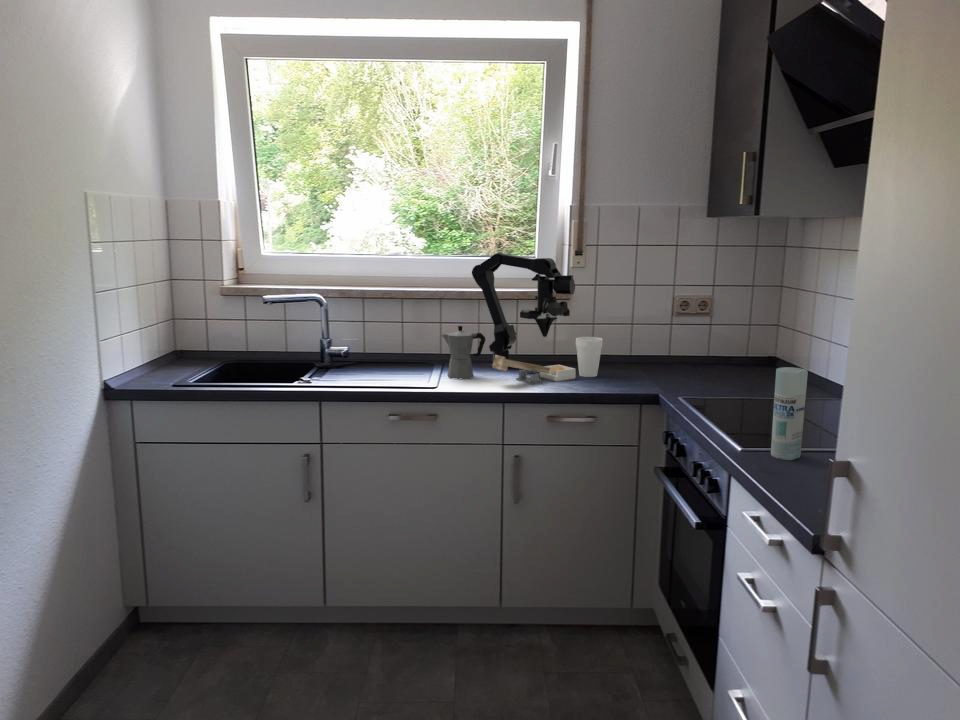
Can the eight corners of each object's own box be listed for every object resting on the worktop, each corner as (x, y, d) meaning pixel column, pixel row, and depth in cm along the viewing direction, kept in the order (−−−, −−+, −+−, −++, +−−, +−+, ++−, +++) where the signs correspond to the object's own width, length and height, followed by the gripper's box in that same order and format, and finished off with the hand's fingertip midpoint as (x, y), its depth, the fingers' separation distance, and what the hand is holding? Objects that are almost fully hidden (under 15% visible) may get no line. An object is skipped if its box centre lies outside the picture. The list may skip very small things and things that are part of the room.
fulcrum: (515, 379, 249) (515, 370, 248) (525, 378, 251) (525, 369, 251) (531, 384, 241) (531, 374, 241) (542, 382, 244) (542, 373, 243)
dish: (539, 376, 253) (539, 367, 253) (558, 374, 258) (558, 364, 257) (555, 381, 246) (556, 371, 245) (575, 378, 250) (575, 368, 250)
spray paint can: (764, 454, 166) (770, 369, 162) (780, 449, 170) (787, 366, 166) (790, 462, 161) (797, 373, 157) (806, 457, 164) (813, 370, 161)
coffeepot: (439, 378, 250) (438, 327, 247) (444, 373, 260) (444, 323, 256) (483, 380, 248) (483, 328, 245) (487, 374, 257) (487, 324, 254)
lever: (475, 362, 249) (477, 350, 249) (529, 372, 262) (532, 360, 262) (503, 370, 235) (506, 357, 234) (559, 380, 248) (562, 368, 248)
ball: (562, 369, 256) (557, 377, 255) (557, 364, 254) (552, 371, 253) (568, 371, 253) (563, 378, 252) (563, 365, 251) (557, 373, 251)
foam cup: (593, 378, 250) (594, 341, 248) (570, 375, 256) (570, 339, 253) (606, 374, 258) (607, 338, 255) (583, 371, 263) (584, 336, 261)
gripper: (538, 296, 248) (537, 341, 251) (580, 293, 258) (579, 337, 261) (519, 294, 257) (518, 337, 260) (560, 291, 267) (559, 333, 270)
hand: (544, 336), depth 262 cm, fingers closed
